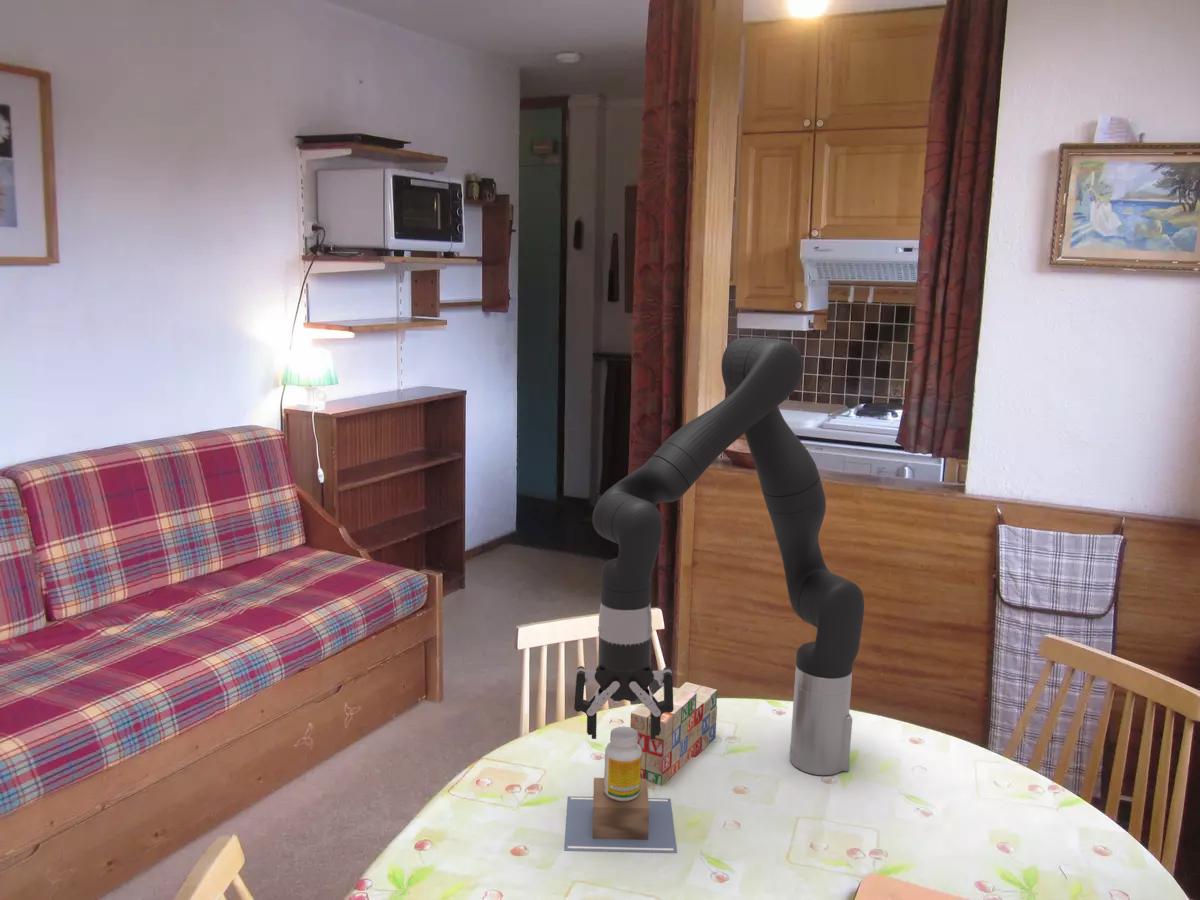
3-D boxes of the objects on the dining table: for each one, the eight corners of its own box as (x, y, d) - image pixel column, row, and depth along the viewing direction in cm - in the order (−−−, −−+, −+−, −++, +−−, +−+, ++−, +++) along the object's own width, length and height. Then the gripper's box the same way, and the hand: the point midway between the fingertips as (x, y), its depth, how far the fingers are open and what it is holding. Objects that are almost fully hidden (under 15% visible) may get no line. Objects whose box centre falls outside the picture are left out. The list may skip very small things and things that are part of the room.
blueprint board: (670, 804, 149) (670, 797, 149) (677, 859, 135) (677, 852, 135) (567, 802, 149) (567, 795, 149) (564, 856, 135) (564, 849, 135)
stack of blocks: (684, 728, 174) (687, 665, 171) (716, 738, 171) (719, 673, 168) (627, 781, 156) (630, 711, 153) (662, 793, 152) (665, 721, 150)
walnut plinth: (645, 808, 146) (646, 778, 145) (648, 839, 138) (649, 808, 137) (593, 807, 146) (593, 777, 145) (592, 838, 138) (593, 807, 137)
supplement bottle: (597, 787, 142) (599, 727, 140) (629, 779, 144) (631, 720, 143) (614, 805, 137) (616, 744, 136) (647, 797, 140) (649, 737, 138)
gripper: (673, 622, 140) (670, 725, 143) (575, 621, 140) (574, 723, 143) (677, 642, 132) (673, 750, 135) (574, 641, 132) (573, 749, 135)
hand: (623, 736), depth 139 cm, fingers open, 8 cm apart
